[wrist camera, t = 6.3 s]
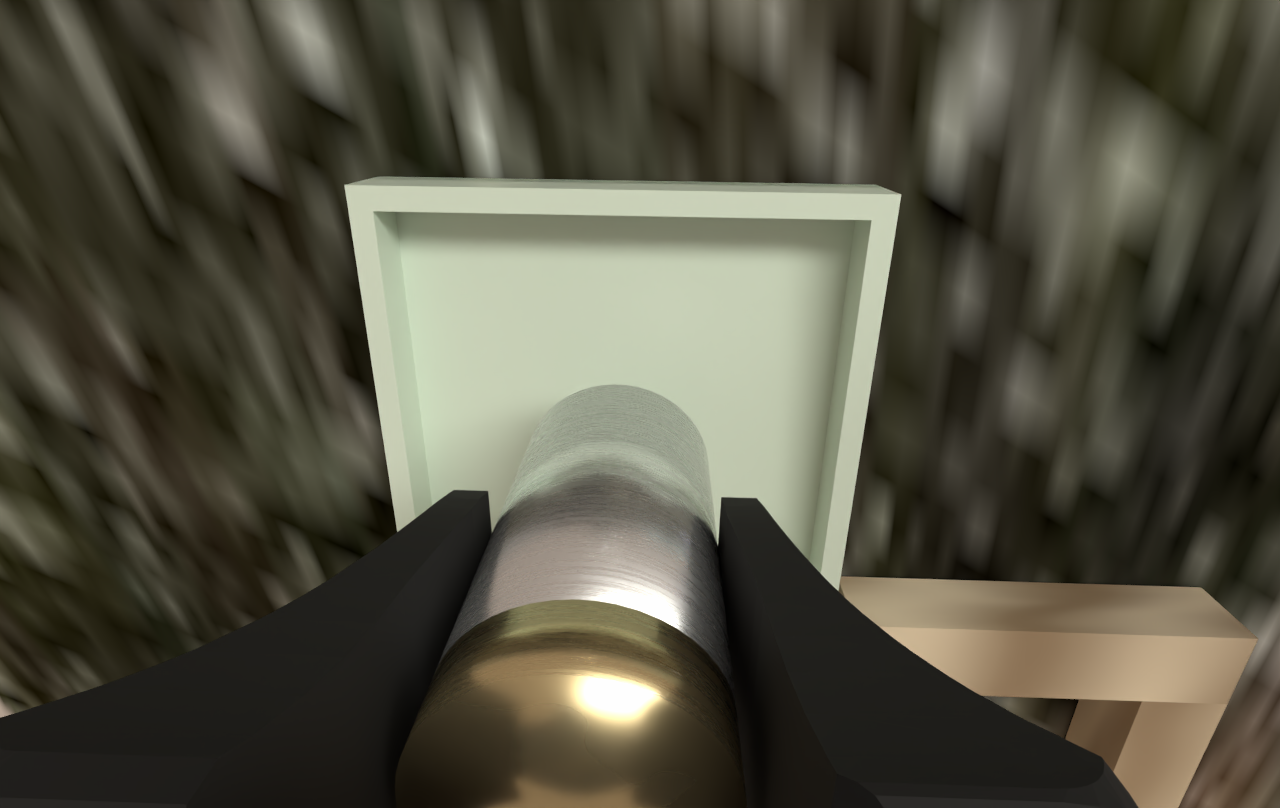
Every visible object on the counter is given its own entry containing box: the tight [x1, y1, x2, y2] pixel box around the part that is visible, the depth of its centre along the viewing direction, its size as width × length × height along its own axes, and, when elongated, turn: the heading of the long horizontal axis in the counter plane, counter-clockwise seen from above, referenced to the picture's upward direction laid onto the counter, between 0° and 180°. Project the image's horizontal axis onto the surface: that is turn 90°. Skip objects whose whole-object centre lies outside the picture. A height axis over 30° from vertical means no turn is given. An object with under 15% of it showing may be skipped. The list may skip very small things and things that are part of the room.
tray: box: [345, 176, 901, 591], centre depth 17 cm, size 11×11×2 cm
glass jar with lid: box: [395, 384, 747, 808], centre depth 11 cm, size 4×4×8 cm
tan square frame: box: [839, 576, 1258, 808], centre depth 20 cm, size 10×10×2 cm
